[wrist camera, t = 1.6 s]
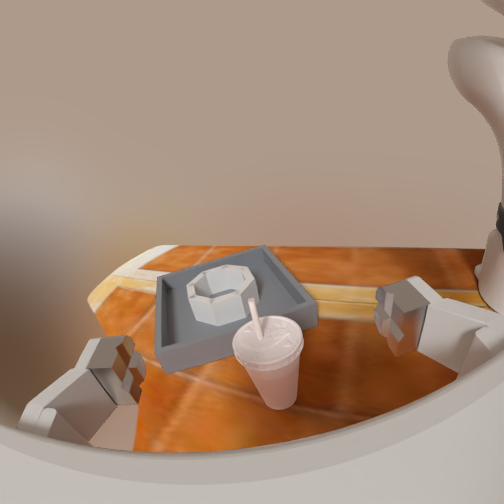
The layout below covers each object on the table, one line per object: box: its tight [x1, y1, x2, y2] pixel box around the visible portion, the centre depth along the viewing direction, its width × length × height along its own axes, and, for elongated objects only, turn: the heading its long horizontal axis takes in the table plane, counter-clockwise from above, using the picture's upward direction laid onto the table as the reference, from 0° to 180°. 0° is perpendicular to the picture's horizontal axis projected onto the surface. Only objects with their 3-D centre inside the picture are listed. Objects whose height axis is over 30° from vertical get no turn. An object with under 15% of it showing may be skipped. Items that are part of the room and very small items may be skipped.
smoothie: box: [232, 298, 304, 410], centre depth 25 cm, size 6×6×14 cm
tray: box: [155, 245, 318, 374], centre depth 44 cm, size 22×22×5 cm
